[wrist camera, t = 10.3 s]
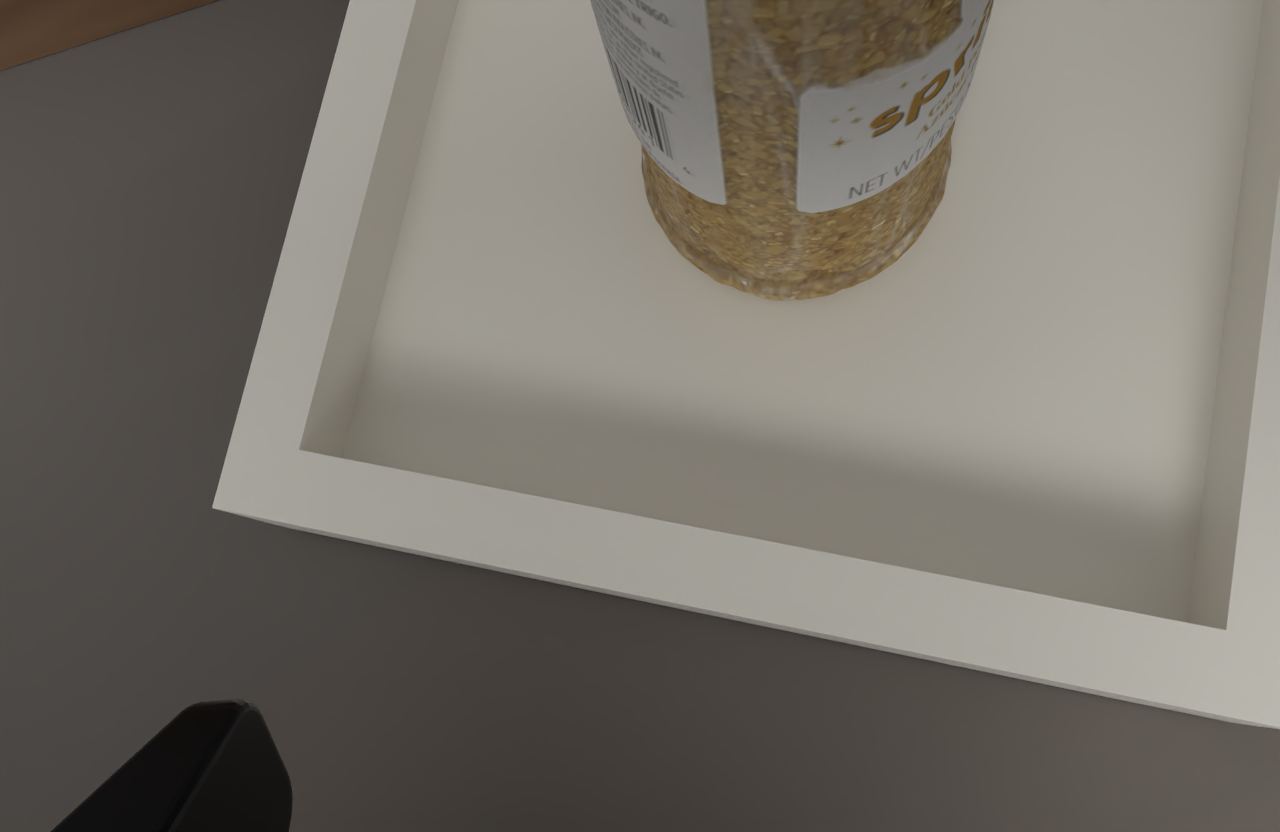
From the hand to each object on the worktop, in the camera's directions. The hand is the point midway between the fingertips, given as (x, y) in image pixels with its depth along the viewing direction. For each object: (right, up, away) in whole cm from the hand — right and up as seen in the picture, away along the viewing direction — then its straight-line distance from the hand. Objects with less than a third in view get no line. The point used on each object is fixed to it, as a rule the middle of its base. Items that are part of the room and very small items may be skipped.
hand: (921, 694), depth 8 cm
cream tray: (+1, +6, +11) cm, 12 cm away
